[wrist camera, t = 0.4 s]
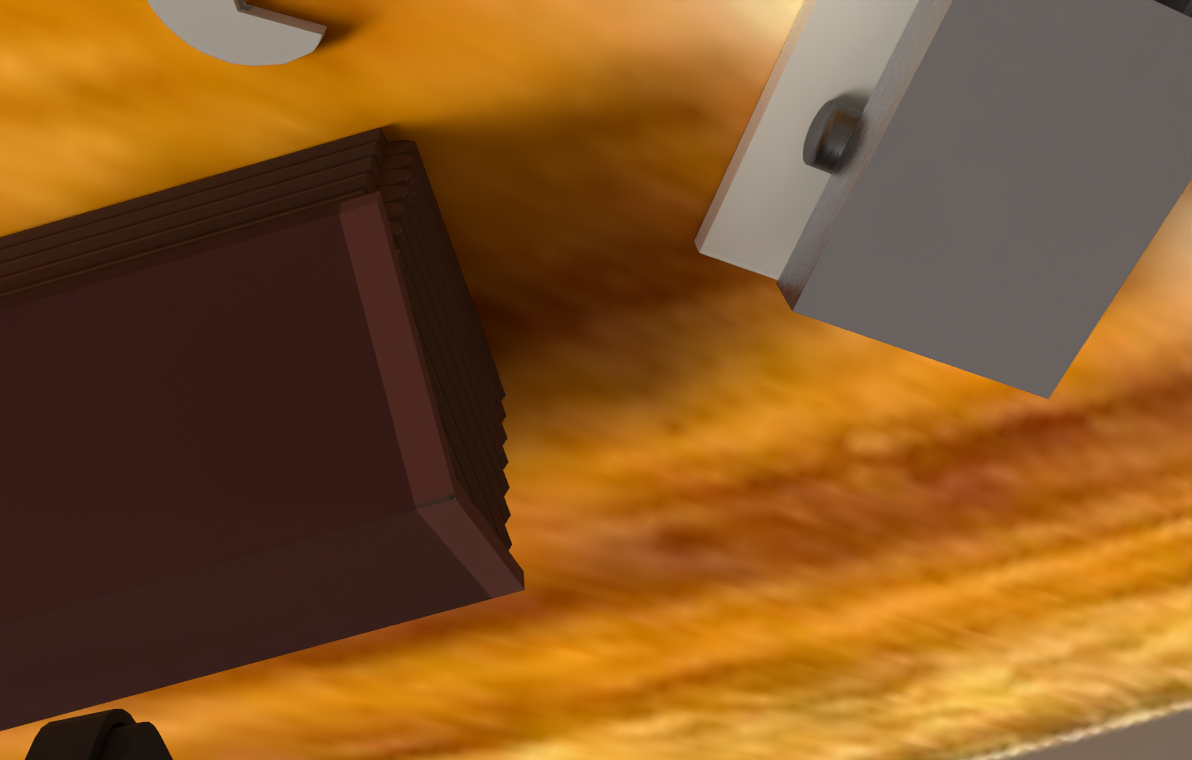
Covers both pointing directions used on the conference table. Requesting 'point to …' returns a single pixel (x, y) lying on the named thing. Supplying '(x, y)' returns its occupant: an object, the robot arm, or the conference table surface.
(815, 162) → the gray toy truck
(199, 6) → the adjustable wrench
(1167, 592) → the conference table surface
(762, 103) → the board
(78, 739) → the robot arm
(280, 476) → the model building
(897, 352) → the conference table surface
